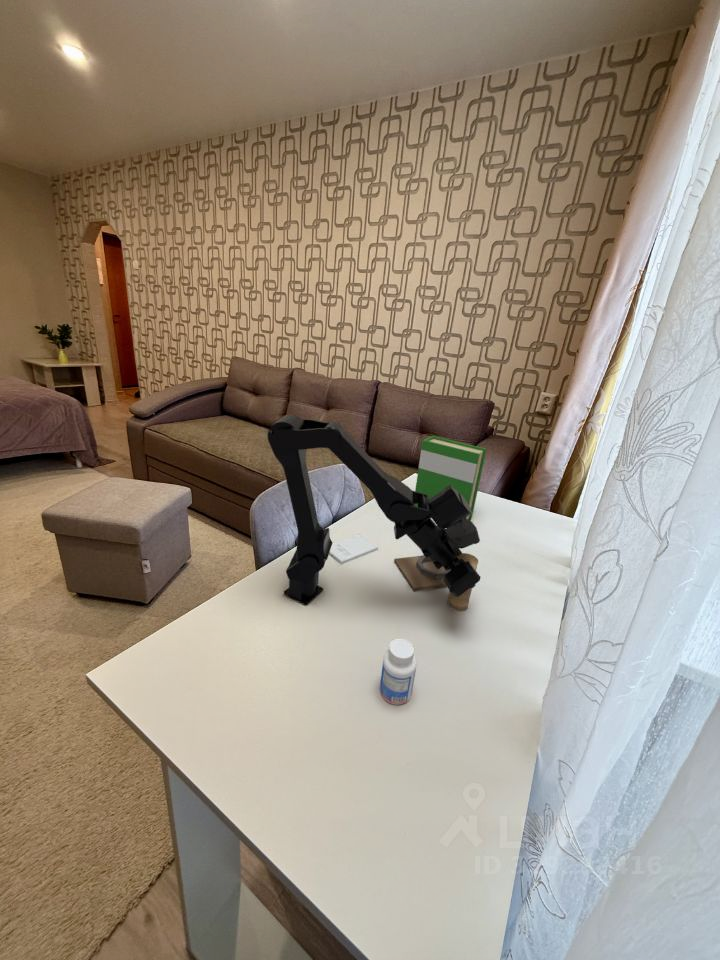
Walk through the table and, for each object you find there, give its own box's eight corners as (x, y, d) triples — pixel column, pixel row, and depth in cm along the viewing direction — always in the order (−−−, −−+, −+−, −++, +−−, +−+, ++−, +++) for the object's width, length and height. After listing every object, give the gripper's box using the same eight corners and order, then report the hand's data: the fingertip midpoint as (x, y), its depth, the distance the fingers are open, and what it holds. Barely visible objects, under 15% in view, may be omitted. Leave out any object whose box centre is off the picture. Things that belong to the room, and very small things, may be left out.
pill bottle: (391, 672, 70) (398, 629, 66) (417, 690, 67) (425, 646, 63) (372, 692, 66) (378, 647, 62) (399, 712, 63) (407, 667, 59)
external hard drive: (377, 551, 106) (341, 566, 99) (358, 538, 112) (322, 550, 104) (378, 546, 106) (341, 560, 98) (359, 533, 111) (322, 545, 104)
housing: (413, 591, 91) (414, 582, 90) (394, 562, 101) (395, 553, 100) (473, 583, 96) (475, 574, 95) (448, 555, 106) (450, 547, 105)
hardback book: (471, 519, 127) (486, 448, 118) (463, 528, 121) (478, 454, 112) (421, 502, 136) (432, 435, 126) (412, 510, 130) (422, 440, 120)
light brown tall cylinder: (464, 613, 85) (475, 567, 81) (445, 605, 87) (454, 560, 83) (470, 602, 89) (480, 557, 84) (451, 595, 91) (460, 550, 86)
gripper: (480, 536, 70) (522, 584, 76) (443, 491, 87) (479, 534, 93) (431, 574, 71) (476, 618, 78) (404, 523, 88) (442, 563, 95)
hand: (468, 579), depth 86 cm, fingers closed on light brown tall cylinder, 4 cm apart
